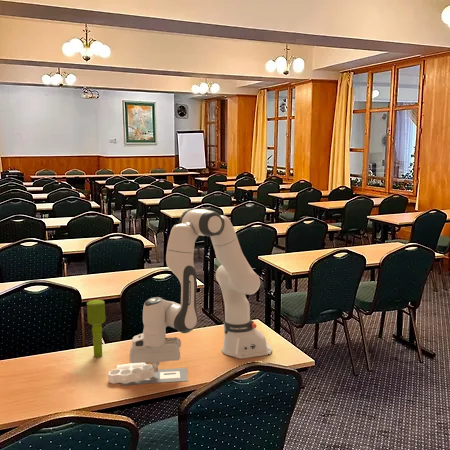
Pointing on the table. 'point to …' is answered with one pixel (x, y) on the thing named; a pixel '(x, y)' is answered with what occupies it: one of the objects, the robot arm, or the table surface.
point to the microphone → (96, 323)
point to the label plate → (164, 377)
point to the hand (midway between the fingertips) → (155, 371)
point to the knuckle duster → (131, 373)
